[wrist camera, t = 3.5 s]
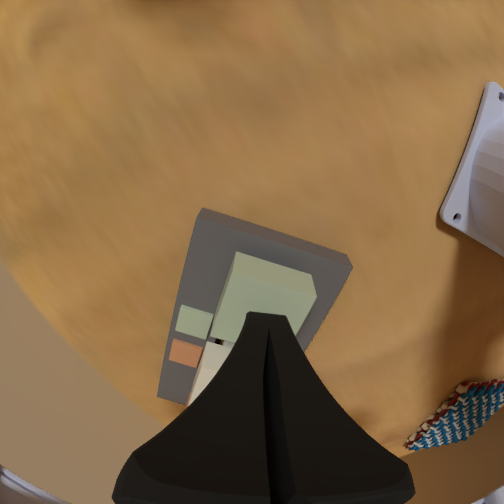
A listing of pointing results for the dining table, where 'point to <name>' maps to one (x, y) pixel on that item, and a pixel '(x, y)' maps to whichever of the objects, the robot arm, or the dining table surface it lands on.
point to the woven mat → (460, 414)
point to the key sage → (261, 295)
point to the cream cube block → (209, 366)
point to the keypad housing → (213, 280)
